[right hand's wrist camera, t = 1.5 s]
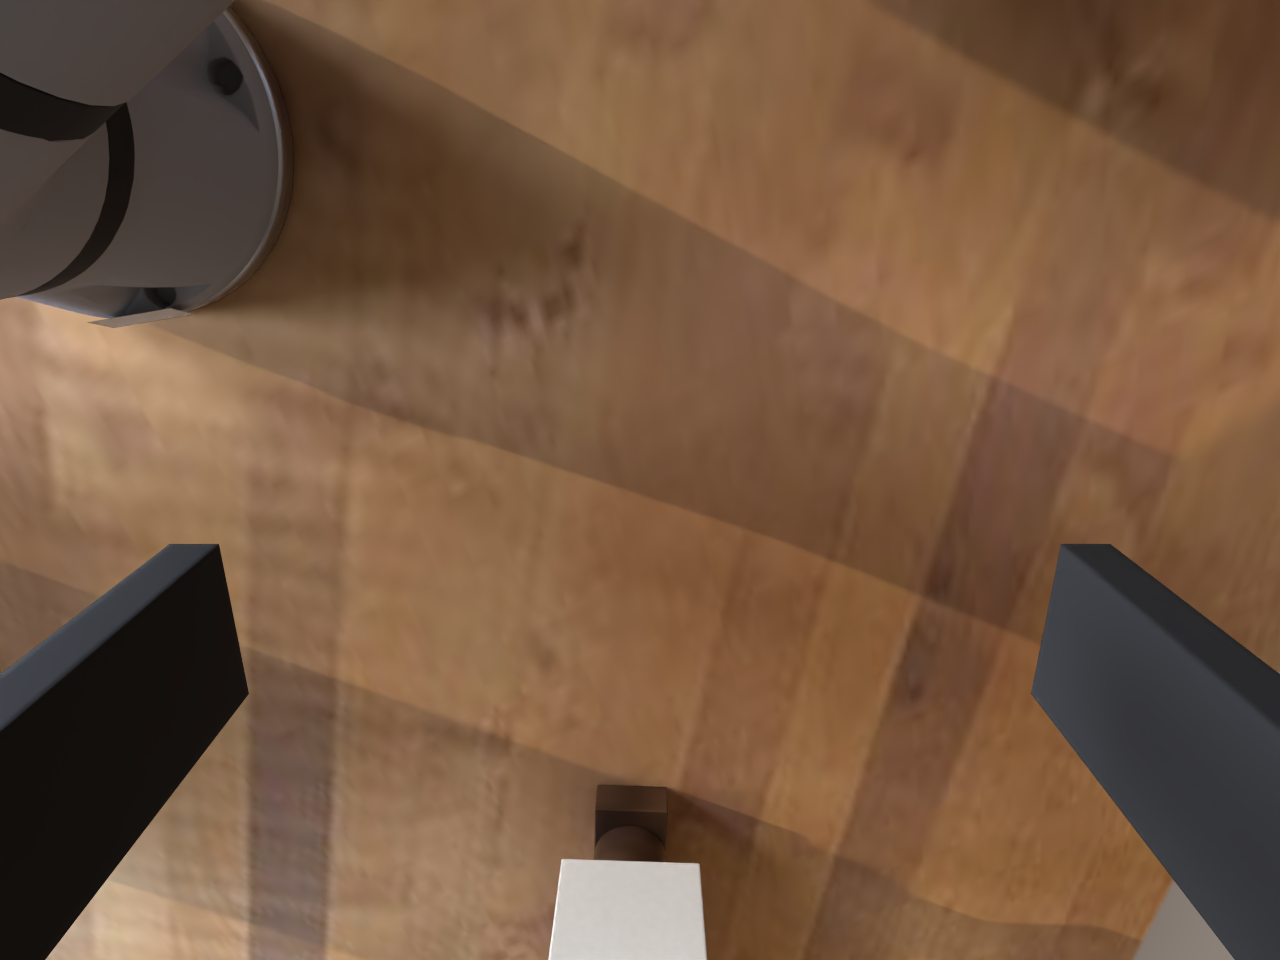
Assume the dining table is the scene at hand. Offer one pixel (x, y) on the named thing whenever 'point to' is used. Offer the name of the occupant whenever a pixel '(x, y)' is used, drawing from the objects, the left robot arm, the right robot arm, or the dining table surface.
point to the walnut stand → (630, 823)
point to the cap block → (628, 911)
